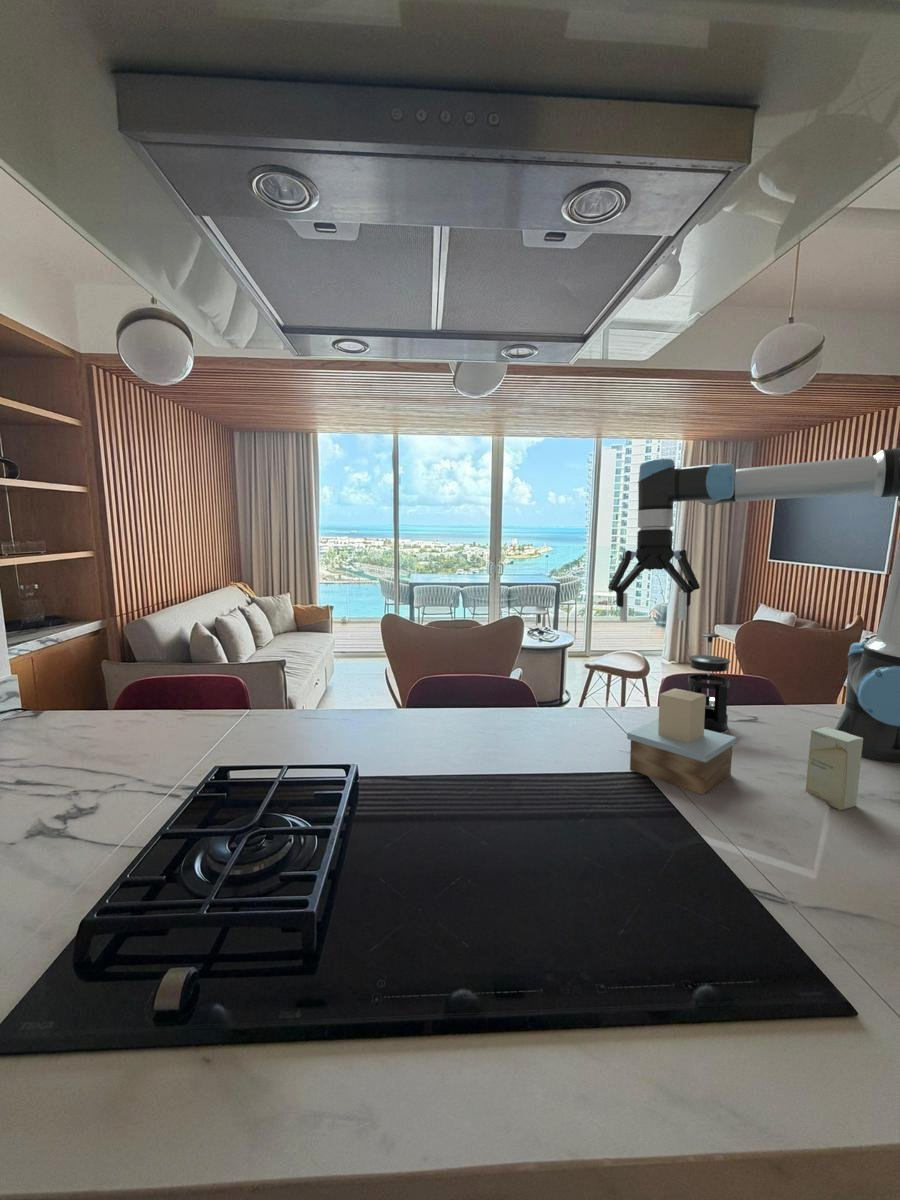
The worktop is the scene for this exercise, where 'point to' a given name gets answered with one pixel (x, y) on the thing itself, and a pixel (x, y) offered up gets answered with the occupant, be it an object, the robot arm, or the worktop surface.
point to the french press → (711, 687)
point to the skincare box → (834, 766)
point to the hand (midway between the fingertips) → (652, 620)
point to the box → (680, 767)
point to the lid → (682, 728)
